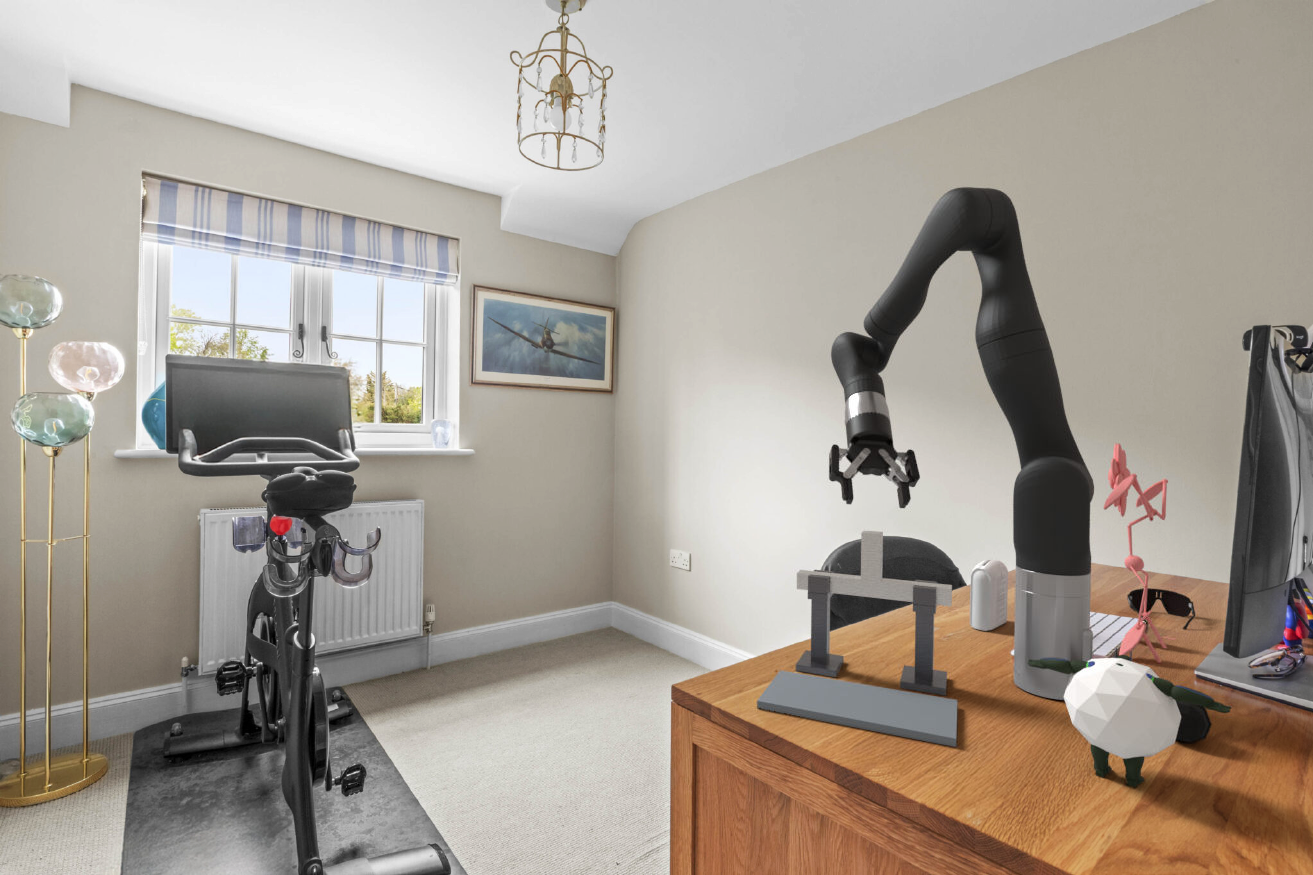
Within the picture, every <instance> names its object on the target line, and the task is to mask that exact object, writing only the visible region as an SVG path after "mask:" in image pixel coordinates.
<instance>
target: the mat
mask: <svg viewBox="0 0 1313 875" xmlns="http://www.w3.org/2000/svg"><path fill="white" fill-rule="evenodd" d="M756 708H757V709H759V708H761V709H760V710H764V711H769V710H770V712H774V711H776V712H775V713H779V712H780V713H779V714H784V713H787V714H786V715H789V714H791V716H794V715H796V716H795V717H799V716H800V717H801V718H806V719H810V720H814V721H821V722H824V723H825V722H827V723H831V724H836V725H841V726H844V727H845V726H846V727H852V728H855V729H861V730H865V731H866V730H867V731H872V732H878V733H882V734H888V735H891V736H897V737H903V738H908V739H912V740H918V741H924V742H927V743H933V744H938V745H943V746H948V747H953V748H957V732H958V731H957V728H958V726H957V724H958V700H957V699H953V698H946V697H942V696H934V695H930V694H924V693H917V692H913V691H906V690H900V689H895V688H888V687H887V688H886V687H882V686H877V685H876V686H875V685H869V684H863V683H858V682H852V681H847V680H841V679H834V678H828V677H824V676H823V677H822V676H817V675H811V674H804V673H799V672H792V671H787V670H779V671H778V673H777V674H776V675H775V677H774V678H773V679H772V680H771V682H770V683H769V685H768V686H766V689H765V690H764V691H763V692H762V694H761V695H760V696H759V698H758V699H757V700H756Z"/></svg>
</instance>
